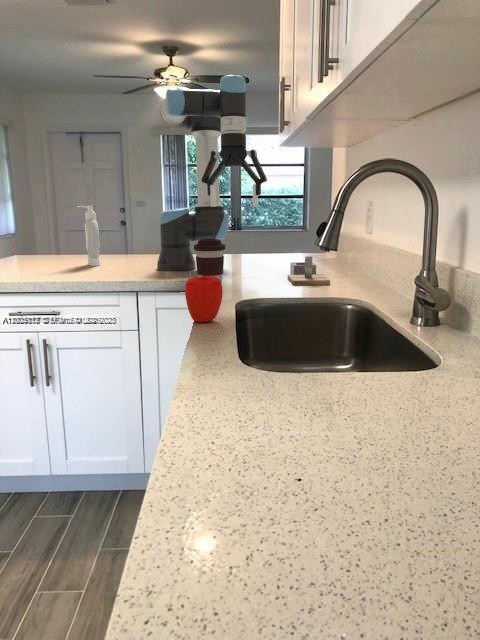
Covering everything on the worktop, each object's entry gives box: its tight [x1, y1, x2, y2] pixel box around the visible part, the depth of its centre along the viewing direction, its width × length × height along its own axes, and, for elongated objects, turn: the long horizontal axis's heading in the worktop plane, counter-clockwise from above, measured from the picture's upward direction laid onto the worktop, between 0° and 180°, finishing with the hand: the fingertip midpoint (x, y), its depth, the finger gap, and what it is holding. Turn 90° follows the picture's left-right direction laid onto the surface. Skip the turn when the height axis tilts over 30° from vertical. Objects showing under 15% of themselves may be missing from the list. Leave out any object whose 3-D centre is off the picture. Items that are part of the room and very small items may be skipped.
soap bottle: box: [76, 205, 102, 267], centre depth 210 cm, size 13×8×24 cm, turn 22°
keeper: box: [287, 255, 331, 286], centre depth 168 cm, size 12×12×8 cm
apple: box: [184, 276, 223, 324], centre depth 117 cm, size 9×9×11 cm
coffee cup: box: [193, 239, 226, 285], centre depth 159 cm, size 10×10×15 cm
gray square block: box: [289, 261, 317, 275], centre depth 183 cm, size 8×8×4 cm
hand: (234, 206), depth 155 cm, fingers open, 13 cm apart
